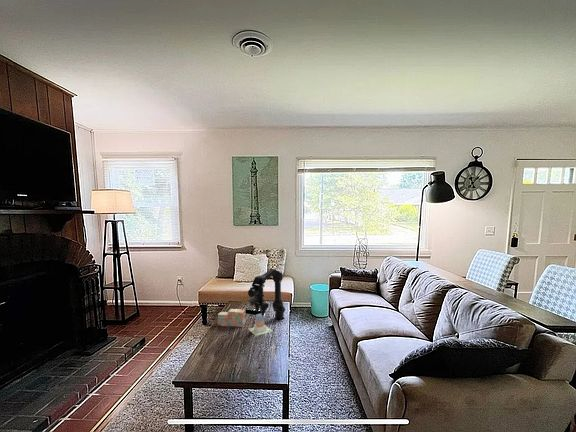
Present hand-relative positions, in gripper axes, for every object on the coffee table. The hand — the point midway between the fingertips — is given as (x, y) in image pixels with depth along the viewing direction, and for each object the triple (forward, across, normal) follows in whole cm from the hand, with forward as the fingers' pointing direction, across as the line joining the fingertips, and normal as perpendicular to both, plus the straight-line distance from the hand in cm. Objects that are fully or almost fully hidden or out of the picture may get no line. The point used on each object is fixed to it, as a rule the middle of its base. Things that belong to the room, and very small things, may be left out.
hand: (259, 313), depth 209 cm
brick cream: (+12, 0, 0) cm, 12 cm away
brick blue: (+5, 0, 0) cm, 5 cm away
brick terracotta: (+9, 0, 0) cm, 9 cm away
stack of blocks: (+13, -22, -15) cm, 30 cm away
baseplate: (+13, 0, 0) cm, 13 cm away
